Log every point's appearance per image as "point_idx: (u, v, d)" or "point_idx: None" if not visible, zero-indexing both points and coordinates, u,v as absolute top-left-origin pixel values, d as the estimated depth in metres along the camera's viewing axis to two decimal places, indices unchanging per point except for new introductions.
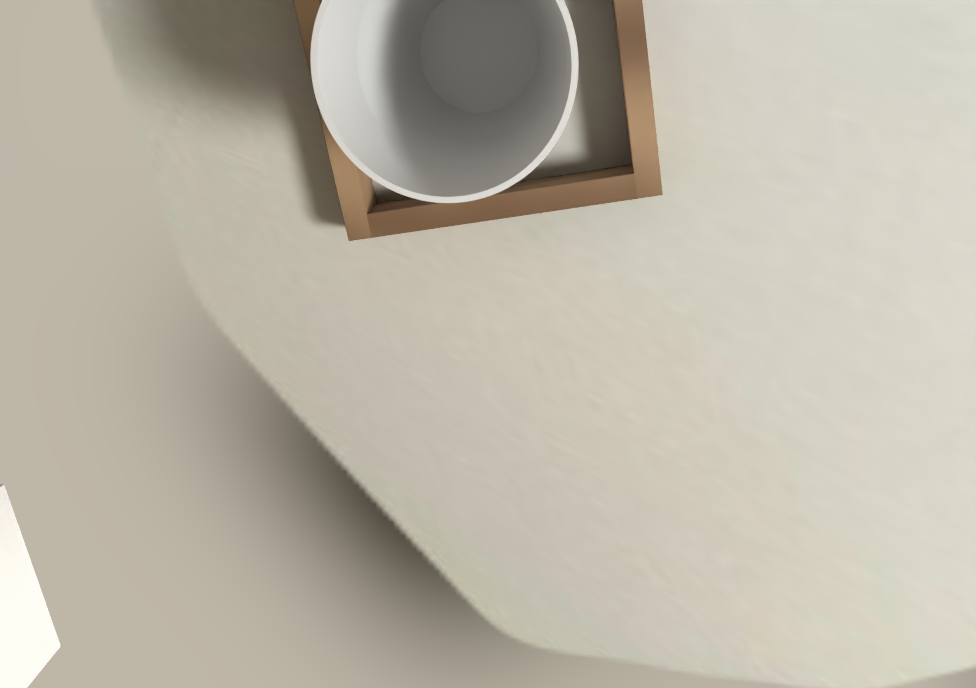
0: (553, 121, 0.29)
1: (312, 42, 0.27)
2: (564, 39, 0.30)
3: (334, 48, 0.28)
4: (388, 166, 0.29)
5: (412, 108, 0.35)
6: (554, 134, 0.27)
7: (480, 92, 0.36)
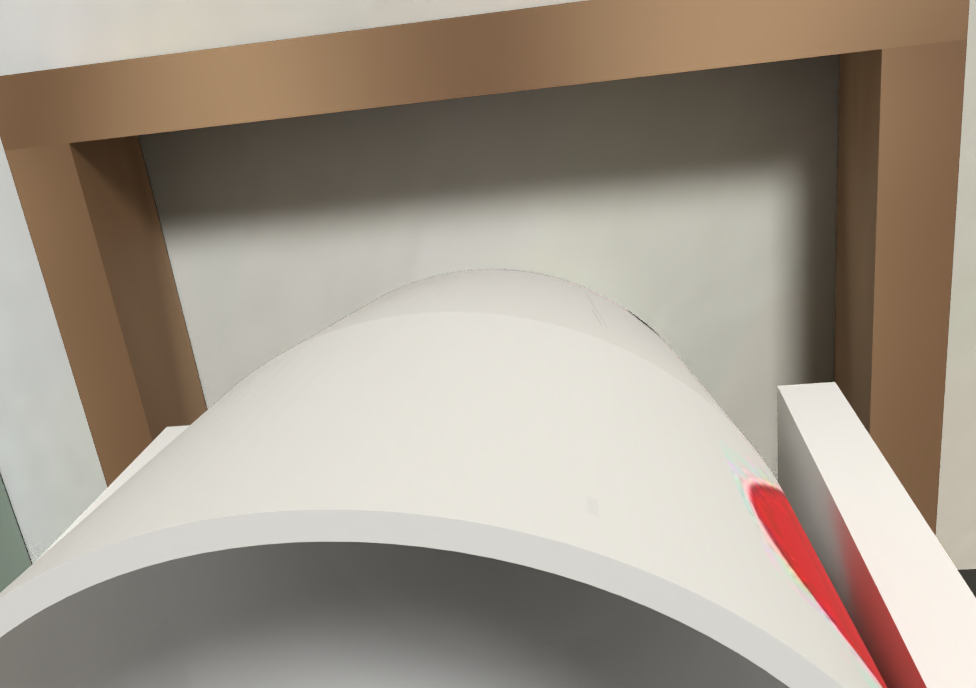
0: None
1: None
2: None
3: None
4: None
5: (614, 624, 0.14)
6: (737, 648, 0.05)
7: None
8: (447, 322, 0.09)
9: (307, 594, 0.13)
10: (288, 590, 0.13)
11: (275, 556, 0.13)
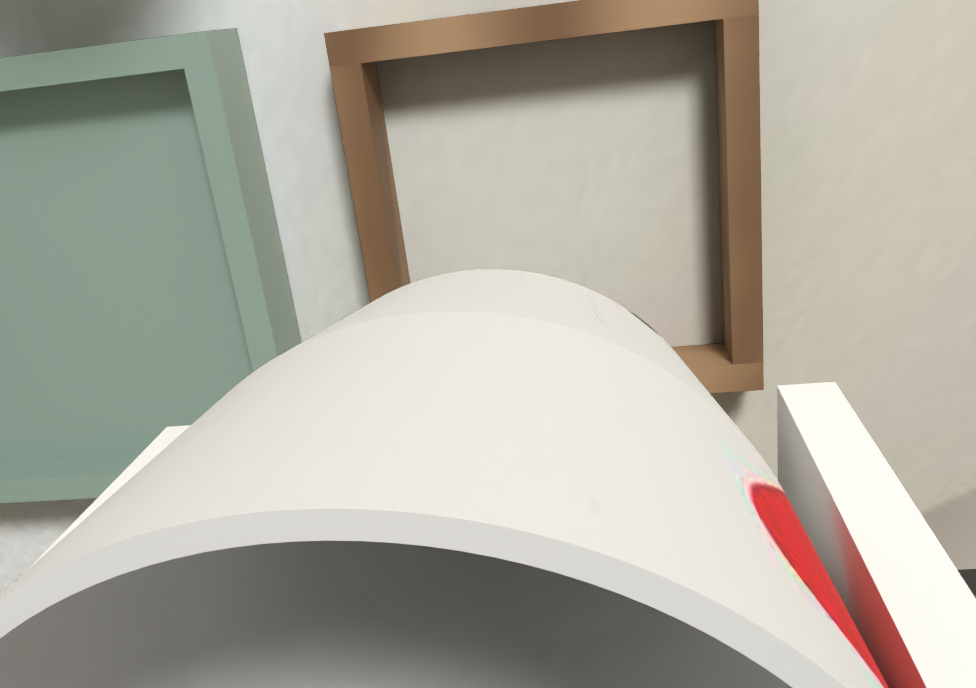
0: None
1: None
2: None
3: None
4: None
5: (614, 623, 0.14)
6: (738, 647, 0.05)
7: None
8: (449, 320, 0.09)
9: (308, 594, 0.13)
10: (289, 590, 0.13)
11: (276, 555, 0.13)
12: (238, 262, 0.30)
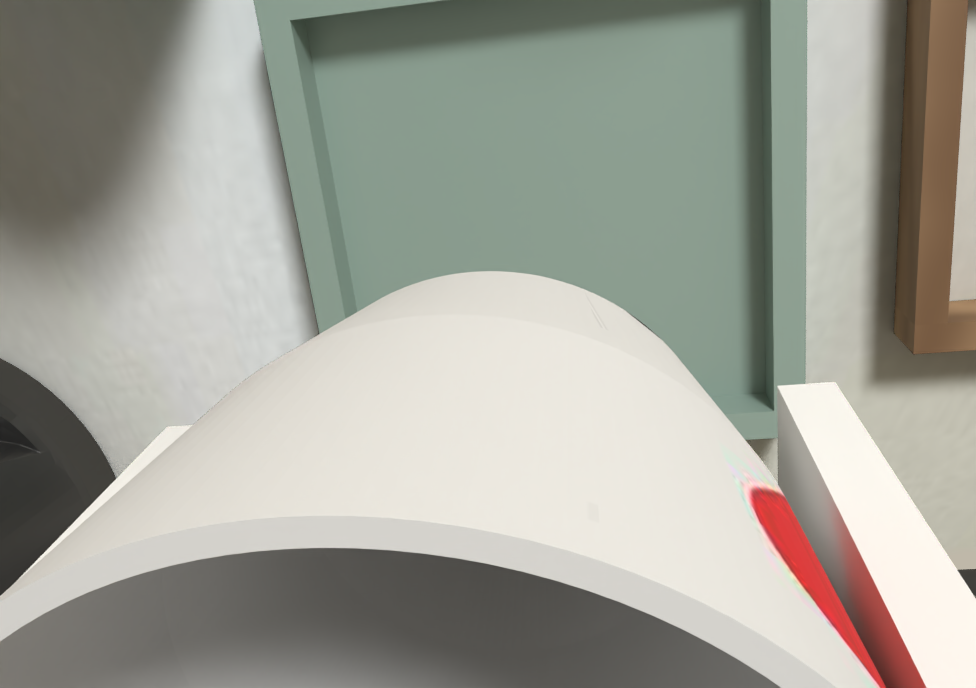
0: None
1: None
2: None
3: None
4: None
5: (614, 626, 0.14)
6: (738, 655, 0.05)
7: None
8: (447, 324, 0.09)
9: (306, 597, 0.13)
10: (287, 593, 0.13)
11: (276, 559, 0.13)
12: (784, 181, 0.27)
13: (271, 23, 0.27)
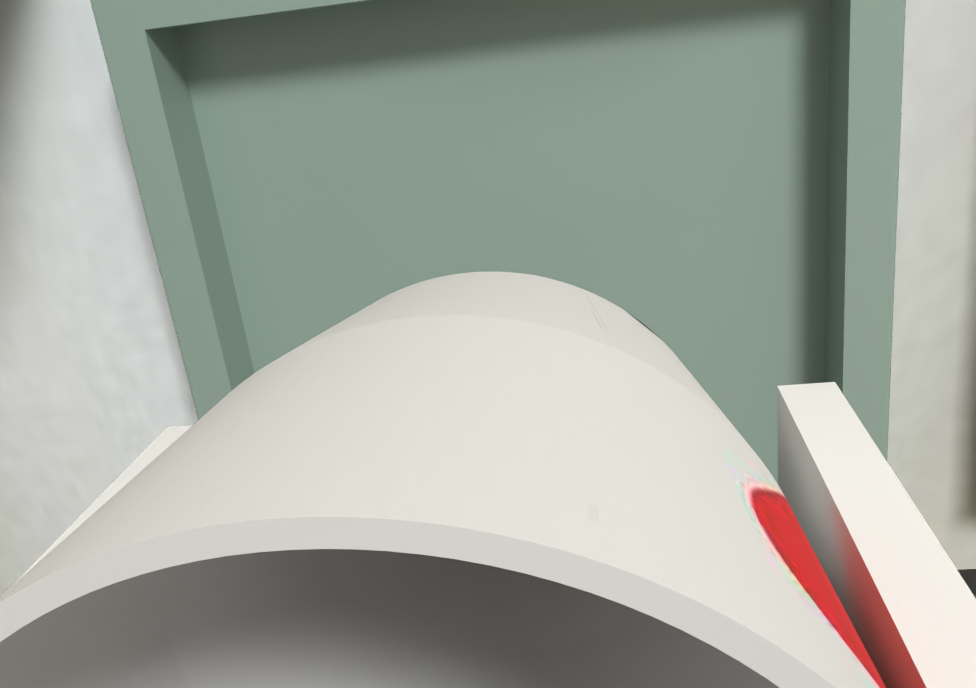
0: None
1: None
2: None
3: None
4: None
5: (614, 627, 0.14)
6: (739, 656, 0.05)
7: None
8: (446, 325, 0.08)
9: (307, 597, 0.13)
10: (287, 593, 0.13)
11: (275, 559, 0.13)
12: (862, 262, 0.19)
13: (118, 34, 0.18)
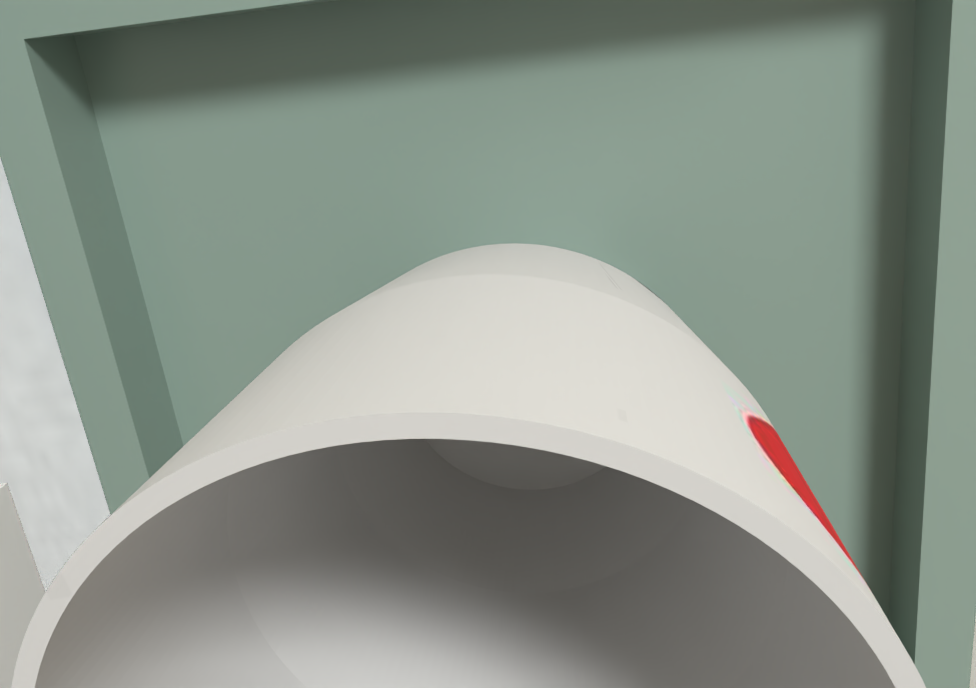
0: None
1: None
2: None
3: None
4: None
5: (623, 569, 0.15)
6: (738, 521, 0.06)
7: None
8: (485, 281, 0.10)
9: (344, 541, 0.15)
10: (328, 536, 0.14)
11: (316, 505, 0.14)
12: (955, 341, 0.14)
13: None
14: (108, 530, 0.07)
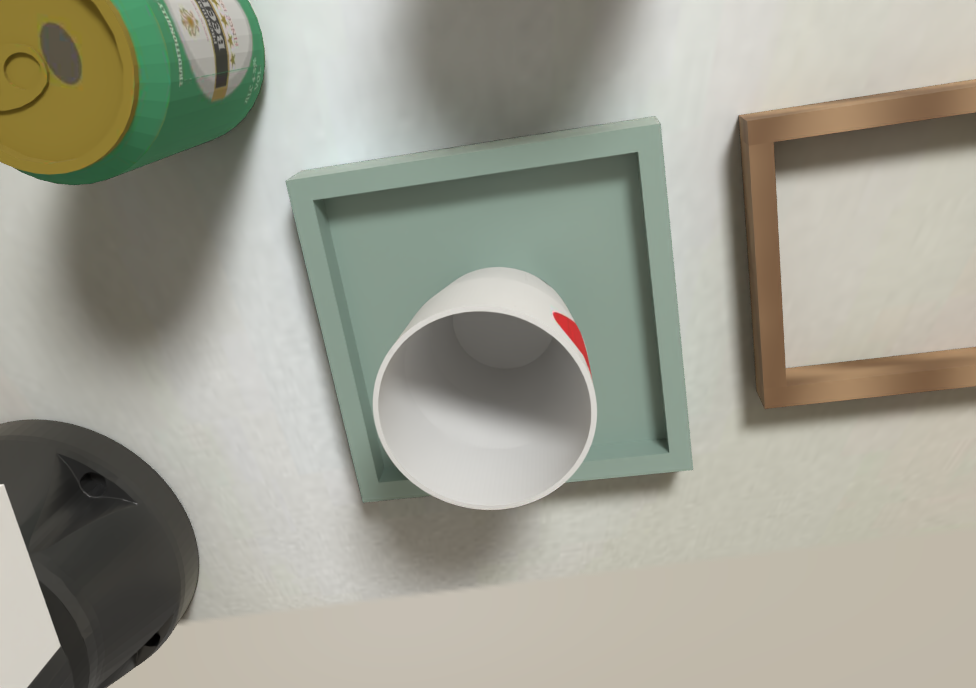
0: None
1: (462, 504, 0.34)
2: None
3: (474, 479, 0.35)
4: (569, 450, 0.34)
5: (543, 390, 0.40)
6: (538, 326, 0.31)
7: None
8: (485, 279, 0.34)
9: (436, 380, 0.39)
10: (431, 377, 0.39)
11: (427, 366, 0.39)
12: (661, 296, 0.39)
13: (300, 202, 0.39)
14: (403, 336, 0.31)
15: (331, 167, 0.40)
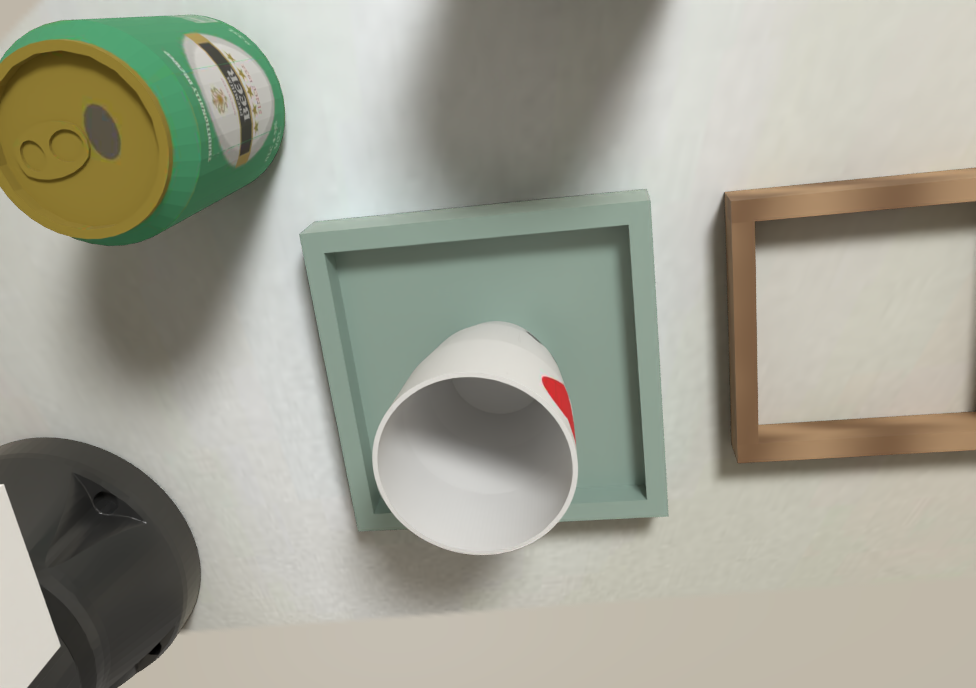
0: None
1: (451, 548, 0.37)
2: None
3: (462, 524, 0.38)
4: (551, 503, 0.37)
5: (531, 438, 0.42)
6: (527, 393, 0.34)
7: None
8: (481, 341, 0.37)
9: (432, 425, 0.42)
10: (427, 423, 0.42)
11: (423, 412, 0.42)
12: (645, 356, 0.42)
13: (312, 254, 0.41)
14: (403, 396, 0.34)
15: (342, 220, 0.43)
